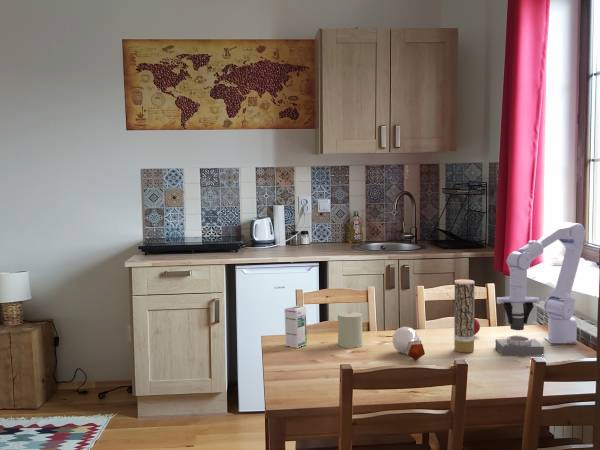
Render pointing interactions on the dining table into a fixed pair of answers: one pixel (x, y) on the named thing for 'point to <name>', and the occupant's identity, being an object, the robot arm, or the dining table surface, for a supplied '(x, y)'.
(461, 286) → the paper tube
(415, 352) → the potion bottle
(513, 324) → the lens
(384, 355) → the dining table surface
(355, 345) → the can
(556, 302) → the robot arm
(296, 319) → the syrup box
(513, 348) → the block
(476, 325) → the onion
